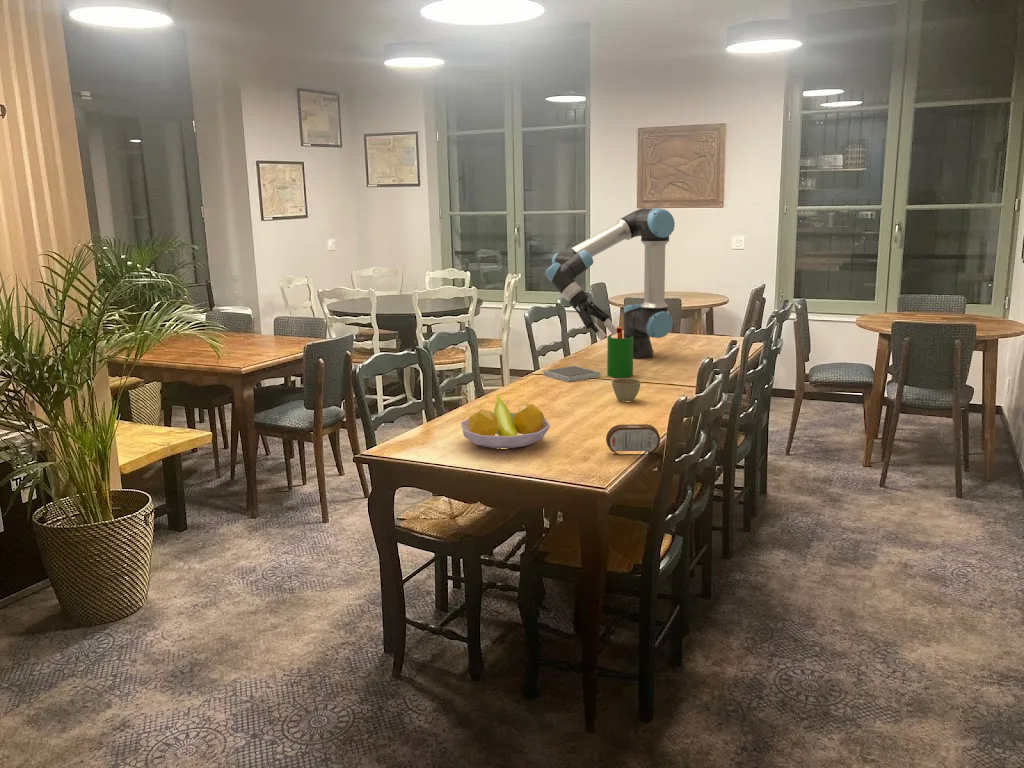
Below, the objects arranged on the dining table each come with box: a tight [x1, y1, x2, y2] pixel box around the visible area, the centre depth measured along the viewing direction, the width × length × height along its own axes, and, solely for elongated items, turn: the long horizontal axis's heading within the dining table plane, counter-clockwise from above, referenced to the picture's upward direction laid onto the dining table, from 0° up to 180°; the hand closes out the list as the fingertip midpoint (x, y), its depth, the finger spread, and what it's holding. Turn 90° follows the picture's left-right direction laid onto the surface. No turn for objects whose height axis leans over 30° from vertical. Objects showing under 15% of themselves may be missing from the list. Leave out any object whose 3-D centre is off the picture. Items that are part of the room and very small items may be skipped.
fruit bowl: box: [460, 393, 551, 449], centre depth 247 cm, size 28×27×11 cm
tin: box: [605, 423, 661, 455], centre depth 234 cm, size 15×3×8 cm, turn 92°
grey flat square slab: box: [543, 365, 601, 383], centre depth 335 cm, size 16×16×2 cm
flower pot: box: [611, 377, 642, 402], centre depth 294 cm, size 10×10×7 cm
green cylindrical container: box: [606, 326, 634, 379], centre depth 333 cm, size 10×9×20 cm
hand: (610, 335), depth 333 cm, fingers open, 13 cm apart
